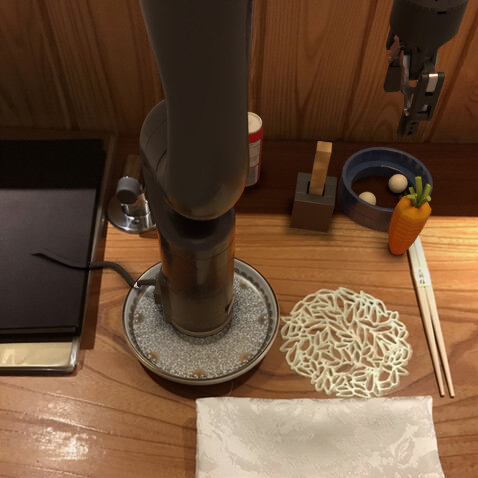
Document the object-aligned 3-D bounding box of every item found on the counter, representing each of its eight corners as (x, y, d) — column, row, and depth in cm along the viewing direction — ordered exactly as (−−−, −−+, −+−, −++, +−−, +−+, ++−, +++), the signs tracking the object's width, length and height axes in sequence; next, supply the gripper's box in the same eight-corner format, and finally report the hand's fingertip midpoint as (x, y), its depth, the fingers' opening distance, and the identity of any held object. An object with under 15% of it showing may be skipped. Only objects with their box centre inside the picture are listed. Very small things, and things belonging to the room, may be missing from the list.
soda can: (242, 163, 97) (245, 104, 87) (265, 179, 95) (271, 121, 85) (220, 179, 95) (220, 120, 85) (243, 196, 93) (246, 138, 83)
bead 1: (354, 213, 91) (358, 200, 88) (355, 200, 92) (359, 186, 90) (373, 216, 91) (377, 202, 88) (373, 202, 92) (378, 189, 90)
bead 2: (386, 195, 93) (391, 182, 90) (386, 182, 95) (391, 169, 92) (404, 198, 93) (409, 184, 90) (404, 185, 94) (409, 171, 92)
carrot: (409, 270, 86) (442, 200, 73) (377, 264, 86) (404, 194, 74) (411, 245, 89) (443, 174, 76) (379, 240, 89) (406, 168, 76)
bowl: (333, 228, 90) (339, 204, 85) (339, 167, 97) (345, 141, 93) (422, 241, 89) (433, 217, 84) (421, 178, 97) (431, 153, 92)
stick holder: (289, 231, 89) (294, 200, 83) (293, 204, 92) (298, 172, 87) (326, 236, 89) (334, 205, 83) (329, 209, 92) (337, 177, 86)
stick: (303, 219, 89) (316, 150, 78) (304, 210, 90) (317, 140, 79) (316, 221, 89) (331, 152, 77) (317, 212, 90) (332, 142, 78)
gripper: (385, -52, 61) (359, 78, 75) (414, 28, 54) (379, 155, 68) (453, -56, 61) (414, 75, 75) (491, 24, 54) (440, 151, 68)
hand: (398, 112), depth 72 cm, fingers open, 8 cm apart
